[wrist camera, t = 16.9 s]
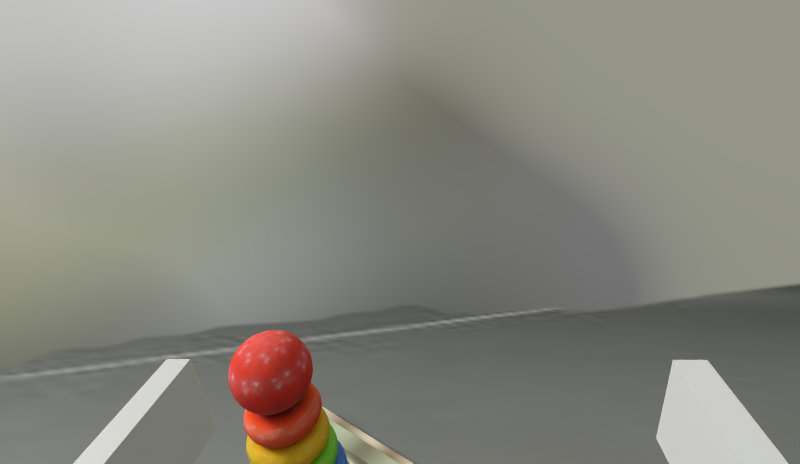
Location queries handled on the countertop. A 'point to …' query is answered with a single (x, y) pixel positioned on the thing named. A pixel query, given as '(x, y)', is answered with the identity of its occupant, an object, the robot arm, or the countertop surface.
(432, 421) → the countertop surface
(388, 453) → the rimmed tray
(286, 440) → the stacking toy
